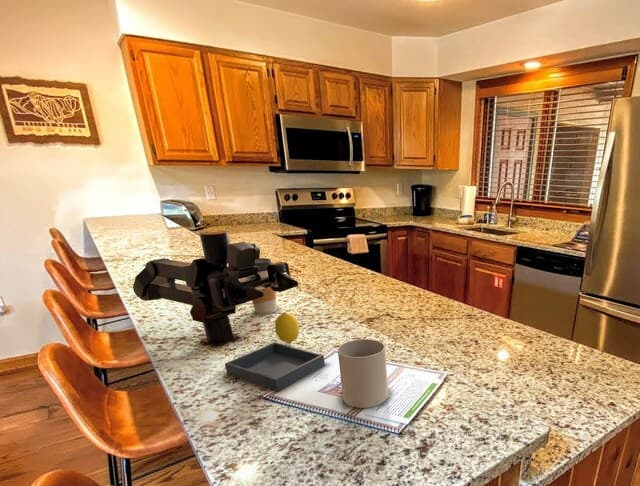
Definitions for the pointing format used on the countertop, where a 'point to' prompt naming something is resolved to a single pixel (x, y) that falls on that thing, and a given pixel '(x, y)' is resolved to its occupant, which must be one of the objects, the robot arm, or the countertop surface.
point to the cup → (363, 372)
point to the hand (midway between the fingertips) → (280, 288)
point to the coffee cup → (265, 290)
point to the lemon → (287, 327)
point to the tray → (275, 365)
